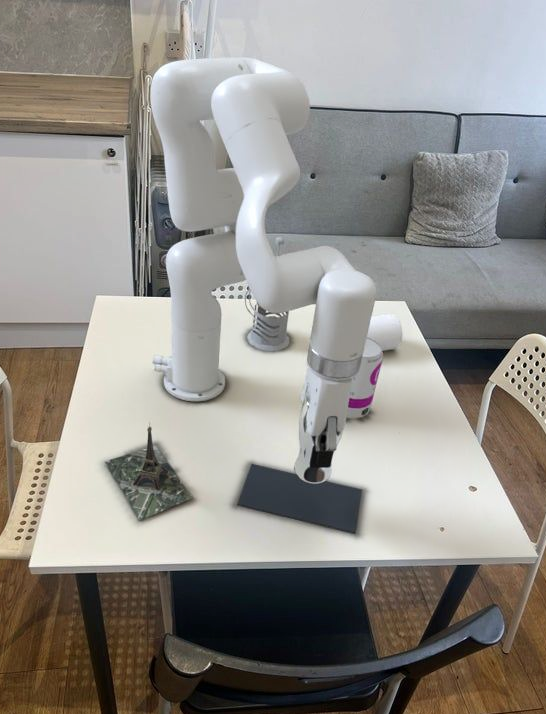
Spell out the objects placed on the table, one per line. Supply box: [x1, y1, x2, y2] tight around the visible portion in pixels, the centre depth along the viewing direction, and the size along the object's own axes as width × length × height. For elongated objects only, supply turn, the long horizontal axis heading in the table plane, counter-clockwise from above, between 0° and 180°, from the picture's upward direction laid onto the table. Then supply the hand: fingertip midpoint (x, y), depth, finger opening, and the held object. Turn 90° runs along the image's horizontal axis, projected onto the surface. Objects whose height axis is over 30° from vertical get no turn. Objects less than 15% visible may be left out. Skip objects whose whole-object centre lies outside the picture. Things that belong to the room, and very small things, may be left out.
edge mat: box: [236, 463, 363, 535], centre depth 109 cm, size 20×10×1 cm, turn 77°
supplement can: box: [346, 337, 384, 420], centre depth 125 cm, size 8×8×15 cm
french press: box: [244, 236, 290, 352], centre depth 139 cm, size 10×12×25 cm
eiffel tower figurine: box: [104, 421, 194, 521], centre depth 105 cm, size 15×10×13 cm
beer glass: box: [293, 392, 348, 484], centre depth 98 cm, size 7×7×15 cm
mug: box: [367, 313, 403, 352], centre depth 146 cm, size 12×10×8 cm
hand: (316, 449), depth 100 cm, fingers closed on beer glass, 6 cm apart
